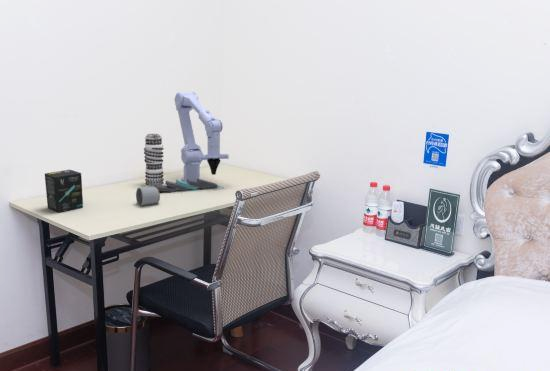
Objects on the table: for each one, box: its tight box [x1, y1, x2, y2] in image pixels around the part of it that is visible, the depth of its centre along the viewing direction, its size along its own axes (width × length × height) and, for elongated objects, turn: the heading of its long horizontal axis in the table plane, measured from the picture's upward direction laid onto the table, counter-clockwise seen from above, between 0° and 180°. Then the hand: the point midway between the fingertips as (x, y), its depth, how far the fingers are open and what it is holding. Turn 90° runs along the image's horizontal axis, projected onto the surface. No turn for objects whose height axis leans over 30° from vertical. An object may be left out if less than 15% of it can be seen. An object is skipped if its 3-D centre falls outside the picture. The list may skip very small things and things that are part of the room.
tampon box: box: [44, 169, 84, 214], centre depth 210 cm, size 11×9×15 cm
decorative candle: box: [143, 133, 165, 187], centre depth 247 cm, size 9×9×25 cm
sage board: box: [171, 184, 227, 194], centre depth 247 cm, size 8×26×1 cm, turn 116°
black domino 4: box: [196, 178, 219, 188], centre depth 248 cm, size 2×5×9 cm
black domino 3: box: [186, 179, 208, 189], centre depth 246 cm, size 2×5×9 cm
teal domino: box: [175, 179, 197, 190], centre depth 244 cm, size 2×5×9 cm
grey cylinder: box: [135, 186, 161, 207], centre depth 221 cm, size 11×8×8 cm
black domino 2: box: [164, 180, 187, 191], centre depth 242 cm, size 2×5×9 cm
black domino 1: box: [154, 184, 177, 193], centre depth 239 cm, size 2×5×9 cm
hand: (213, 174), depth 248 cm, fingers closed
